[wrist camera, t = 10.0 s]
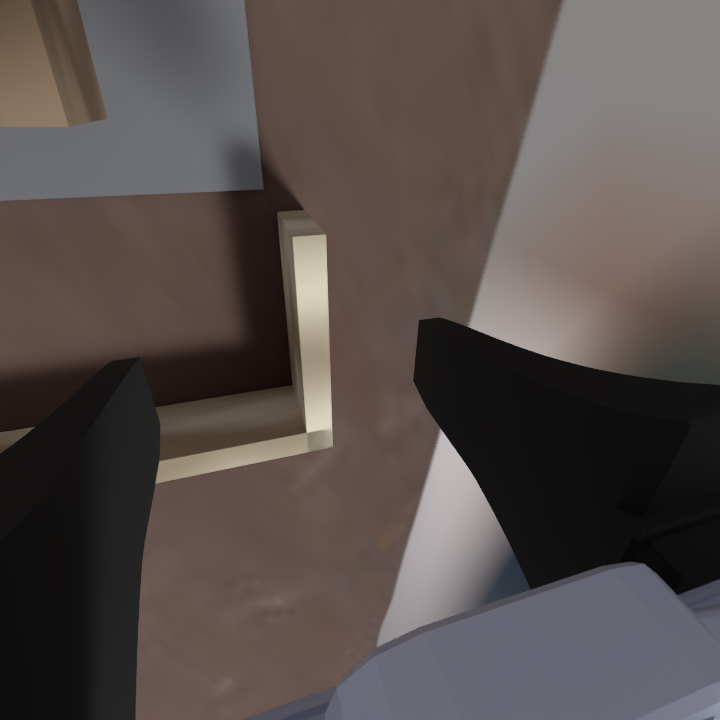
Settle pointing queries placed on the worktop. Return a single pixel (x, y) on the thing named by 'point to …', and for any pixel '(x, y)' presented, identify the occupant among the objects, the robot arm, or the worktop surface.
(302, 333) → the beige angled piece
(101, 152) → the rubber mat
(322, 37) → the worktop surface
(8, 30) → the wooden cube
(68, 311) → the worktop surface
